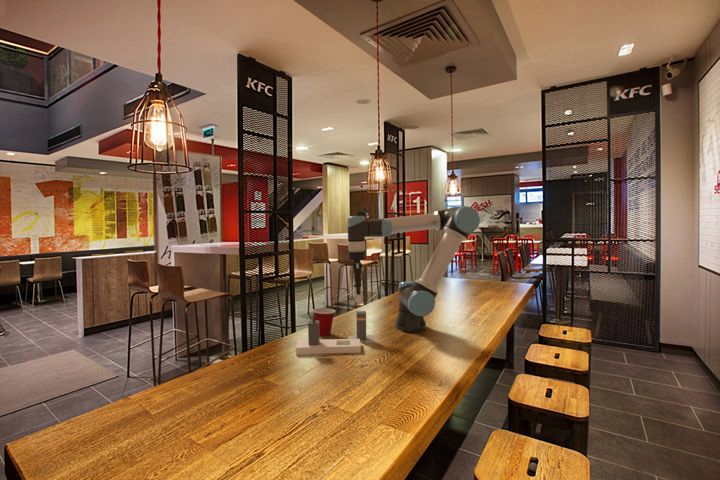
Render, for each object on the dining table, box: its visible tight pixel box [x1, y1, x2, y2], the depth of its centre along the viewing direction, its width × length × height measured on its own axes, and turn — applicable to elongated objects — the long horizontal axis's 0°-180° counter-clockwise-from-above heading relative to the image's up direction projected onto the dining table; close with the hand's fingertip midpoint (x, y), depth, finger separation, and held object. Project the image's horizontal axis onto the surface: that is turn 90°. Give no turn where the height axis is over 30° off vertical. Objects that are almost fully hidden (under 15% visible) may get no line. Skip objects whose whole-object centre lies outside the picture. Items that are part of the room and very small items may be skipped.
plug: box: [355, 310, 367, 340], centre depth 163 cm, size 4×4×12 cm
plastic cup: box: [312, 307, 337, 337], centre depth 170 cm, size 11×11×12 cm
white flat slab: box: [347, 334, 376, 344], centre depth 163 cm, size 12×10×1 cm
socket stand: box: [295, 313, 362, 356], centre depth 150 cm, size 26×9×15 cm, turn 92°
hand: (358, 298), depth 162 cm, fingers open, 13 cm apart
